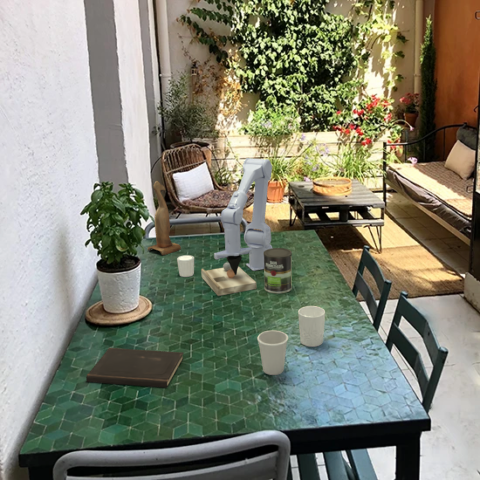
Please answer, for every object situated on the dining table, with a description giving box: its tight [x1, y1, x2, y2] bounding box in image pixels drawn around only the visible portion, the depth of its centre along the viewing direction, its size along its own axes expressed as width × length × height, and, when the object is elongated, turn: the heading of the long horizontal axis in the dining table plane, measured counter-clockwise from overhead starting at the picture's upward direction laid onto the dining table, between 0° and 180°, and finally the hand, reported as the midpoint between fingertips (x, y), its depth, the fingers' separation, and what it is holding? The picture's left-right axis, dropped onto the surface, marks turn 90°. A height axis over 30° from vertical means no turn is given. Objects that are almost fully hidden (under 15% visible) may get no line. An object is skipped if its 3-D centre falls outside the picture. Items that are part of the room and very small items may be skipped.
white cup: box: [297, 305, 326, 348], centre depth 174 cm, size 8×8×10 cm
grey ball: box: [222, 262, 231, 271], centre depth 228 cm, size 3×3×3 cm
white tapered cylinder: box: [176, 254, 195, 278], centre depth 232 cm, size 7×7×7 cm
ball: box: [227, 269, 235, 278], centre depth 221 cm, size 3×3×3 cm
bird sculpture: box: [147, 180, 182, 256], centre depth 258 cm, size 11×12×32 cm
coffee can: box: [263, 247, 293, 294], centre depth 214 cm, size 10×10×14 cm
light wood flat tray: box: [200, 265, 257, 297], centre depth 222 cm, size 15×20×4 cm
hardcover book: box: [86, 347, 184, 389], centre depth 164 cm, size 16×23×2 cm
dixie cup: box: [257, 330, 289, 376], centre depth 160 cm, size 8×8×10 cm
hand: (234, 273), depth 221 cm, fingers closed, pressing on ball
